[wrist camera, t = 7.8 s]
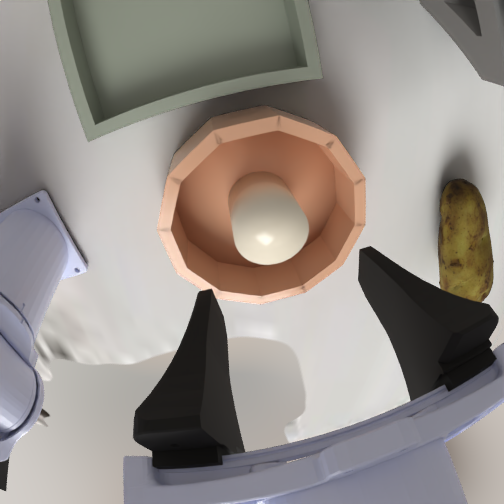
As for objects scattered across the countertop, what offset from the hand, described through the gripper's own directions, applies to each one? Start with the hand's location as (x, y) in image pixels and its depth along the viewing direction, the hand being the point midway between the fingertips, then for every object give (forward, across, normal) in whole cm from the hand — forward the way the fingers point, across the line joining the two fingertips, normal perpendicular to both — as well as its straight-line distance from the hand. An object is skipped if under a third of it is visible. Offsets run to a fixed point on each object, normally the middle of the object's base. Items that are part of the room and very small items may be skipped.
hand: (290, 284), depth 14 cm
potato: (+10, -19, +8) cm, 23 cm away
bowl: (+9, 0, 0) cm, 9 cm away
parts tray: (+9, +2, -15) cm, 18 cm away
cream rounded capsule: (+9, 0, 0) cm, 9 cm away
